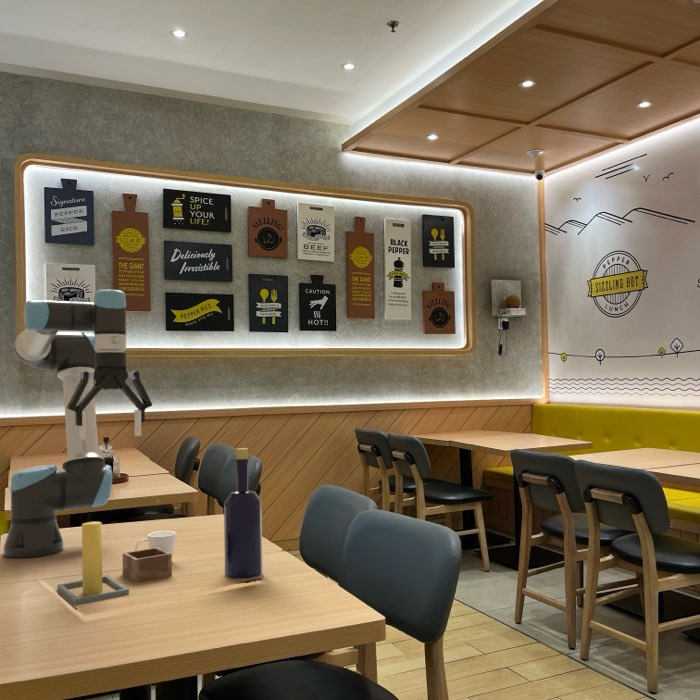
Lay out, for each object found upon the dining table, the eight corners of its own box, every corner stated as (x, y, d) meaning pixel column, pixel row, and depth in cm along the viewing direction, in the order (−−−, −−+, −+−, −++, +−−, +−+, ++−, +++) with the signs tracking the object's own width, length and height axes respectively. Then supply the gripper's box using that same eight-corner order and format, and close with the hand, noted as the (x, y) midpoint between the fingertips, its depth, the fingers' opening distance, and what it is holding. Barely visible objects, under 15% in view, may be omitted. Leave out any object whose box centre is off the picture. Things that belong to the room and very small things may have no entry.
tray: (57, 593, 154) (57, 584, 154) (107, 584, 160) (107, 575, 160) (75, 609, 142) (75, 599, 142) (128, 598, 149) (128, 589, 149)
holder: (122, 578, 165) (122, 553, 165) (157, 572, 170) (157, 547, 170) (135, 586, 158) (135, 559, 158) (171, 579, 163) (171, 553, 163)
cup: (177, 567, 173) (176, 535, 174) (135, 572, 170) (135, 538, 171) (175, 561, 180) (175, 529, 180) (134, 565, 177) (134, 532, 177)
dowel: (80, 593, 152) (79, 523, 152) (99, 589, 154) (98, 520, 155) (85, 597, 148) (85, 526, 149) (104, 593, 151) (103, 523, 152)
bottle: (271, 574, 165) (268, 447, 167) (249, 584, 157) (247, 451, 159) (238, 570, 169) (236, 446, 171) (216, 580, 161) (214, 450, 162)
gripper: (62, 350, 164) (62, 441, 163) (164, 351, 179) (165, 434, 178) (53, 352, 170) (54, 440, 169) (153, 353, 185) (154, 433, 184)
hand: (111, 437), depth 173 cm, fingers open, 13 cm apart
